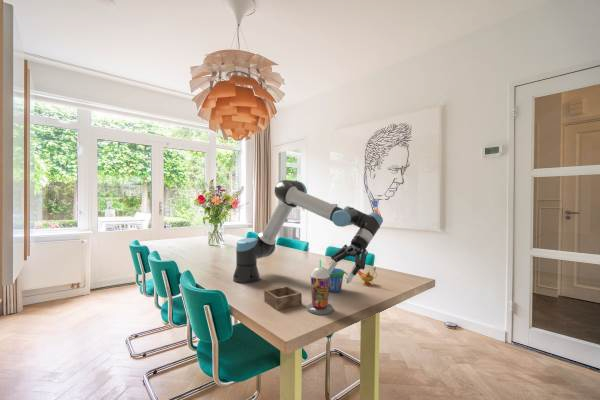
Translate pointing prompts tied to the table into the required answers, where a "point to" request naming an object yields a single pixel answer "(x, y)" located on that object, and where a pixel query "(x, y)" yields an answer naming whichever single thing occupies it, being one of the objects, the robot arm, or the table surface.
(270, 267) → the table surface
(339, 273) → the snack cup
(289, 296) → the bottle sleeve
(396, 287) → the table surface
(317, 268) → the smoothie
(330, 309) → the slate coaster
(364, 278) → the magic lamp
